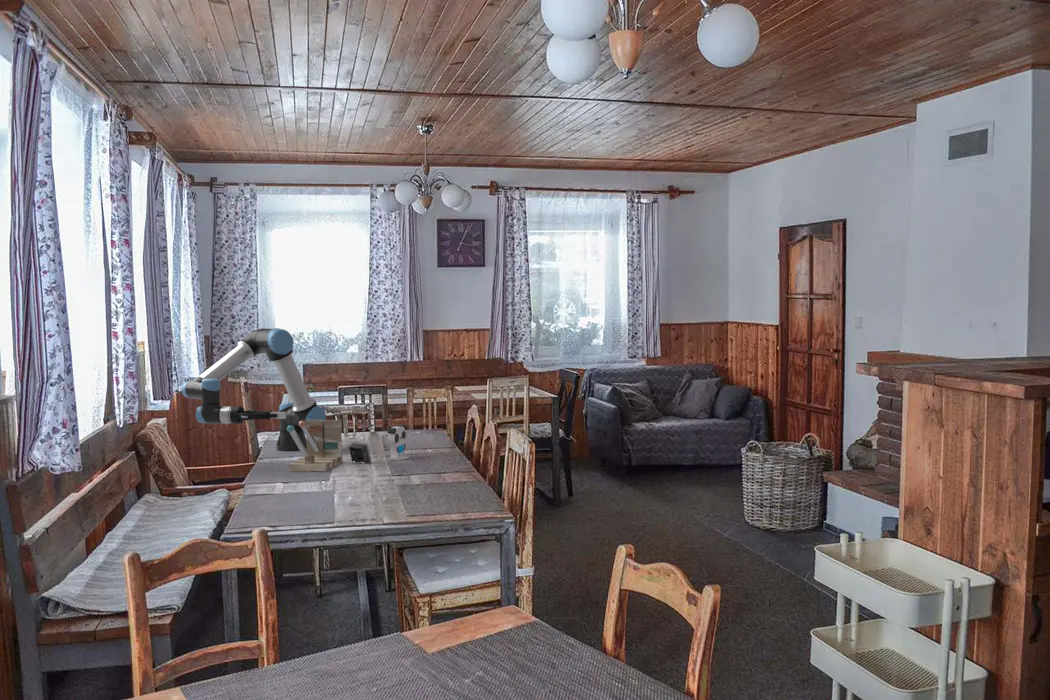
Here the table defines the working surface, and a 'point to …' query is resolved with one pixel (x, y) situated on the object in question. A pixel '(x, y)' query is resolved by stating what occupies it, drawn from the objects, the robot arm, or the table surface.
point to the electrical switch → (359, 452)
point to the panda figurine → (396, 440)
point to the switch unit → (321, 447)
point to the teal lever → (297, 441)
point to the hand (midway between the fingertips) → (285, 415)
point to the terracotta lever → (309, 435)
